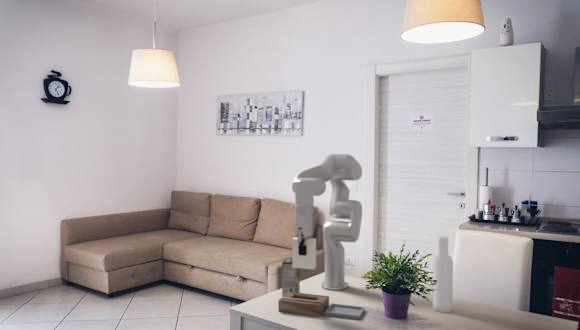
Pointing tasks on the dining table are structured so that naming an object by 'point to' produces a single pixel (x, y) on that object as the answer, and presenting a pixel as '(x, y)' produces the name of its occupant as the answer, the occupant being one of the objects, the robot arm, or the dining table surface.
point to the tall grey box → (290, 277)
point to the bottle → (443, 278)
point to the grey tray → (344, 311)
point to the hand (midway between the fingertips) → (304, 253)
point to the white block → (304, 260)
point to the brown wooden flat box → (304, 303)
